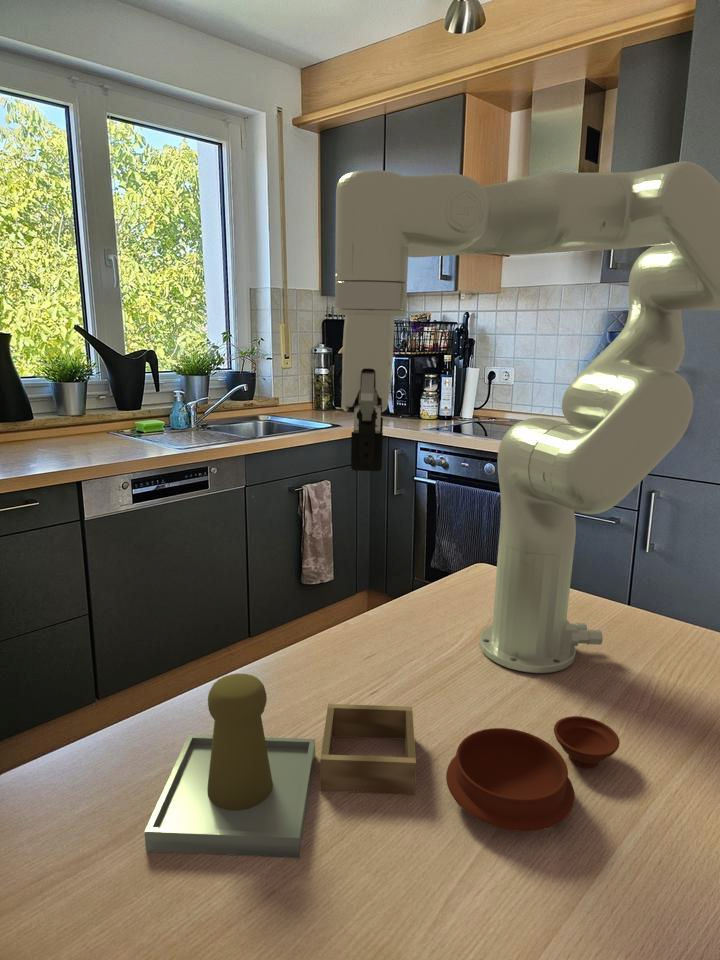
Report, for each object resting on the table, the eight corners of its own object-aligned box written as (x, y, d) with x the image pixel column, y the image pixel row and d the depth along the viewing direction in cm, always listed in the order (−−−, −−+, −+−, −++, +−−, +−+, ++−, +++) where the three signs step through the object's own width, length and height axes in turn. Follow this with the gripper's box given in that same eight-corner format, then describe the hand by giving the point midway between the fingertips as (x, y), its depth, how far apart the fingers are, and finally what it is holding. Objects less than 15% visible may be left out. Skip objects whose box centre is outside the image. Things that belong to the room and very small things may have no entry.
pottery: (420, 787, 64) (422, 748, 63) (558, 721, 75) (562, 686, 74) (508, 871, 54) (512, 827, 53) (653, 782, 65) (659, 743, 64)
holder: (410, 735, 71) (412, 706, 71) (414, 794, 63) (416, 762, 62) (327, 732, 72) (328, 703, 71) (320, 790, 63) (320, 759, 62)
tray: (315, 756, 68) (315, 739, 67) (299, 857, 55) (299, 838, 55) (189, 751, 68) (188, 734, 68) (146, 851, 56) (144, 831, 55)
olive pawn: (260, 815, 58) (257, 705, 55) (196, 804, 59) (190, 696, 56) (281, 770, 64) (279, 668, 61) (222, 761, 65) (218, 661, 62)
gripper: (340, 301, 78) (339, 443, 82) (328, 299, 61) (327, 478, 65) (404, 302, 78) (399, 445, 82) (409, 300, 61) (403, 480, 65)
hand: (367, 459), depth 74 cm, fingers open, 9 cm apart
